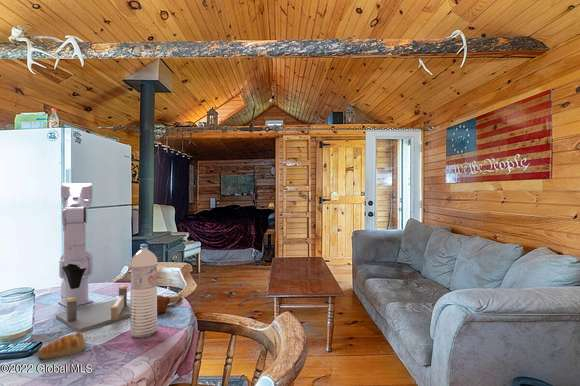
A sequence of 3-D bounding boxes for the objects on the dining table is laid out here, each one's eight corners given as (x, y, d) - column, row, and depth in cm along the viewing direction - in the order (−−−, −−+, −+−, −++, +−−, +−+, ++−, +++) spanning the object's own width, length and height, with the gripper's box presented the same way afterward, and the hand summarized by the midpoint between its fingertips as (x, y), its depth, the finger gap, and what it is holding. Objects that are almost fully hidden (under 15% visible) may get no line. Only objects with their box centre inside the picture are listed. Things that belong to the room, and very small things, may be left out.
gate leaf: (118, 306, 107) (118, 295, 107) (124, 305, 107) (124, 295, 107) (110, 320, 95) (110, 308, 95) (117, 319, 96) (117, 307, 96)
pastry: (40, 365, 73) (40, 348, 73) (36, 354, 78) (36, 339, 78) (87, 351, 80) (87, 335, 80) (81, 342, 85) (81, 327, 85)
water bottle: (139, 341, 85) (140, 247, 85) (125, 335, 89) (125, 245, 88) (162, 331, 91) (162, 243, 91) (147, 326, 94) (147, 241, 94)
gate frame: (55, 317, 100) (55, 294, 100) (117, 301, 116) (117, 280, 116) (79, 332, 90) (79, 306, 90) (144, 312, 105) (144, 289, 105)
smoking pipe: (141, 316, 103) (141, 298, 103) (166, 297, 121) (166, 282, 121) (163, 316, 102) (163, 298, 102) (185, 297, 121) (185, 282, 121)
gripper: (51, 244, 101) (51, 287, 101) (69, 249, 93) (69, 295, 93) (76, 241, 107) (76, 282, 107) (95, 245, 99) (95, 289, 99)
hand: (74, 288), depth 100 cm, fingers closed
